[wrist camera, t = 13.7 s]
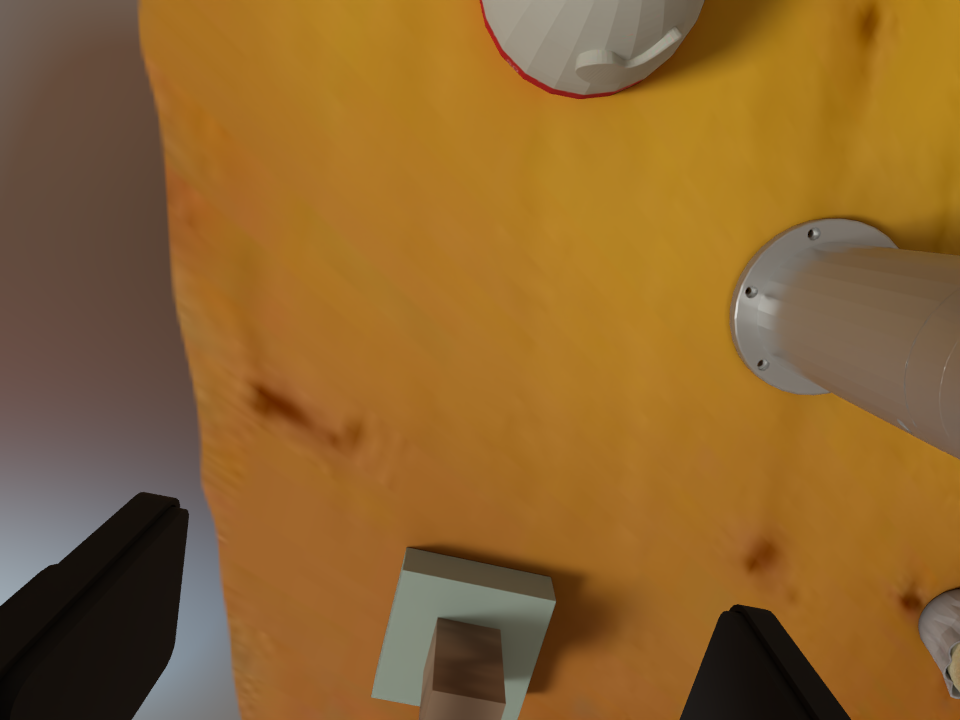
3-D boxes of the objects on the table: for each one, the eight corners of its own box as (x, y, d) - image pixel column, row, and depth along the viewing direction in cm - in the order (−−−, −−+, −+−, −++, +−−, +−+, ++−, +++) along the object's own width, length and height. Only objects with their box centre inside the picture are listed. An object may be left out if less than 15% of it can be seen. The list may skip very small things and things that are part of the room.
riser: (550, 577, 48) (556, 601, 45) (512, 694, 51) (515, 724, 48) (406, 547, 47) (402, 569, 44) (376, 668, 50) (371, 697, 47)
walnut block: (500, 629, 46) (506, 703, 39) (485, 681, 47) (487, 762, 40) (437, 617, 45) (432, 690, 38) (423, 669, 46) (416, 749, 40)
